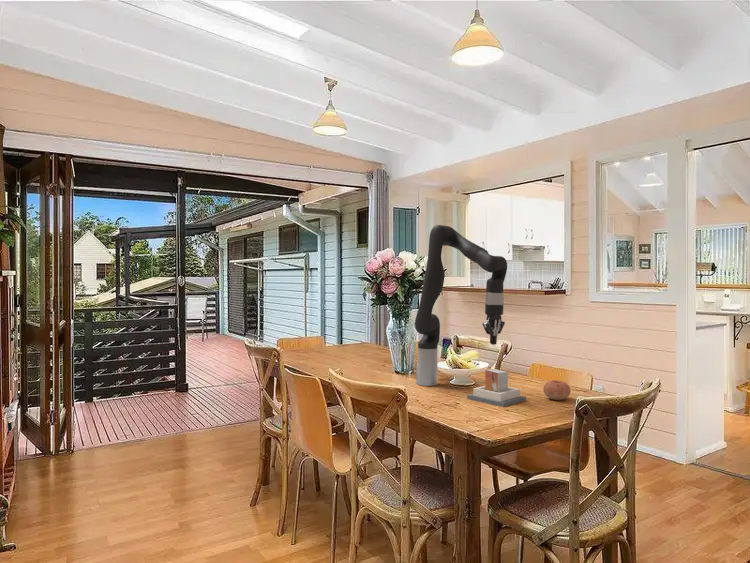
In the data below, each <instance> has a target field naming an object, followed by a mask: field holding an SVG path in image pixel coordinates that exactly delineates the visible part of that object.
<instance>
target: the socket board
mask: <svg viewBox="0 0 750 563" xmlns="http://www.w3.org/2000/svg"><path fill="white" fill-rule="evenodd" d="M472 391H473V392H472V393H469V394H467V395H466V399H468V400H472V401H475V402H476V401H477V402H481V403H485V404H489V405H494V406H497V405H498V407H502V406H503V408H504V406H505V407H507V406H512V405H515V403H516V404H519V403H522V401H523V402H526V401H527V396H525V395H523V396H522V395H521V389H520V388H516V387H511V386H508V391H505V392H501V393H498V392H493V391H488V390H485V385H482V386H477V387H475V388H474V387H473V390H472ZM525 400H526V401H525ZM518 402H519V403H518ZM511 404H512V405H511Z"/></svg>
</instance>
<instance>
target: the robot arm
mask: <svg viewBox="0 0 750 563" xmlns="http://www.w3.org/2000/svg"><path fill="white" fill-rule="evenodd" d="M428 238H429V239H428V253H427V259H426V266H425V273H424V279H423V282H422V283H423V284H422V290H421V296H420V299H419V300H420V301H419V305H418V309H417V313H416V316H415V321H414V327H415V330H416V332H417V333H418V334H420V335H422V337H421V339H420V340H418V343H417V363H416V364H415V365H416V367H415V369H416V370H415V372H416V377H415V378H416V379H415V381H416V382H415V383H416V384H417V385H419V386H424V387H434V386H437V385H438V360H439V359H438V357H439V356H438V346H439V343H440V338H441V337H440V336H441V334H440V333H441V332H440V331H441V322H440V319H439V317H438V316H437V315H436V314H434V313H433V309H434V306H435V303H436V302H437V300H438V298H439V296H440V295H441V293H442V290H443V288H444V283H445V275H446V274H445V269H444V265H443V261H442V253H443V247H447V246H448V247H452V248H454V249H457V250H458V251H459V252H460V253H461V254H462V255H463V256H464V257H465V258H467V259H468V260H470V261H472V262H473V263H476V264H477V265H478V266H479V267H480V268H481V269H483V270H484V271H485V272H488V273H491V277H490V278H488V279H487V280H486V286H485V287H486V288H485V289H486V291H485V297H484V298H485V302H484V303H485V304H484V314H485V315H486V320H485V322H483V323H482V327H483V328H484V331H485V334H486V335H489V343H490V345H493V346H494V345H497V343H498V335H499V334H500V335H501V332H503V328H504V327H505V324H506V322H505V321H503V319H502V315H504V298H505V297H504V282H505V280H506V275H507V271H508V261H507V259H506V258H505V257H504V256H502V255H492V254H489V251H488V250H487V249H485V248H484V247H482V246H480V245H478V244H476V243H474V242H472V241H470V240H469V239H467V238H465V237H464V236H463V235H462V234H461V233H459V232H458V231H457V230H455V229H454V228H453V227H451V226H449V225H441V224H435V225H434V226H433V227H432V228H431V230H430V232H429V237H428Z"/></svg>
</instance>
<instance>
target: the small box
mask: <svg viewBox="0 0 750 563" xmlns="http://www.w3.org/2000/svg"><path fill="white" fill-rule="evenodd" d="M484 376H485V377H484V379H485V380H484V381H485V382H484V386H485V390H488V391H493V392H498V393H501V392H505V391H508V387H509V383H508V382H509V372H508V371H504V370H500V369H497V368H493V369H492V368H491V369H485V374H484Z"/></svg>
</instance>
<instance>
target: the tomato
mask: <svg viewBox="0 0 750 563" xmlns="http://www.w3.org/2000/svg"><path fill="white" fill-rule="evenodd" d="M542 390H543V393H544V395H545V396H546V397H547V398H549V399H550V400H553V401H564V400H566V399H568V398H569V396H570V395H571V390H572V389H571V387H570V385H569V384H568V383H567V382H564V381H562V380H548V381H547V382H545V384H544V386H543V389H542Z"/></svg>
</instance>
